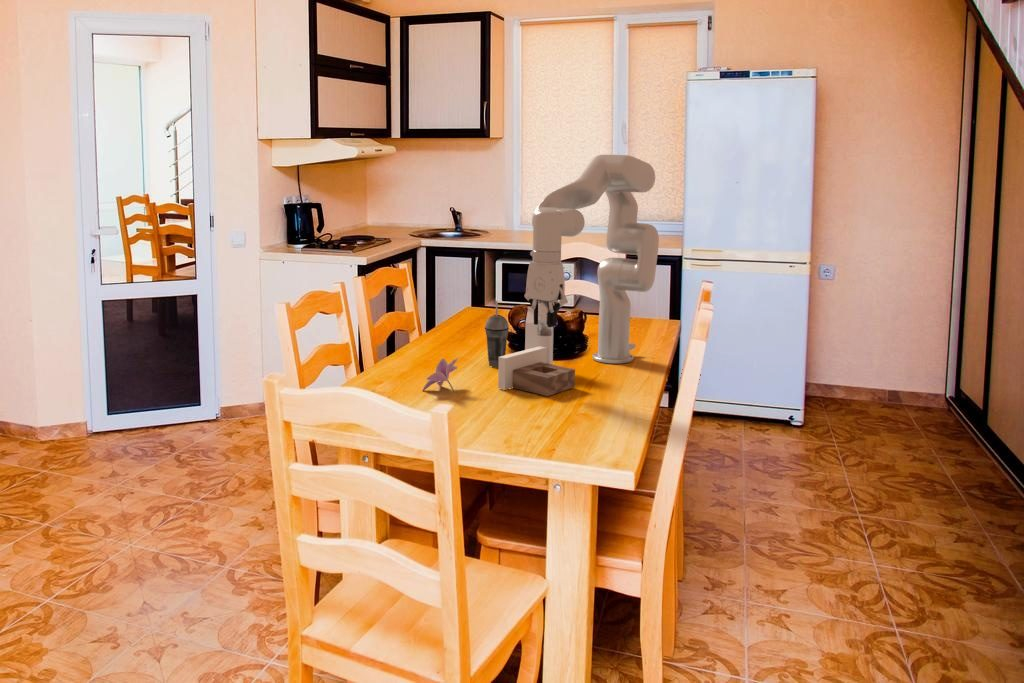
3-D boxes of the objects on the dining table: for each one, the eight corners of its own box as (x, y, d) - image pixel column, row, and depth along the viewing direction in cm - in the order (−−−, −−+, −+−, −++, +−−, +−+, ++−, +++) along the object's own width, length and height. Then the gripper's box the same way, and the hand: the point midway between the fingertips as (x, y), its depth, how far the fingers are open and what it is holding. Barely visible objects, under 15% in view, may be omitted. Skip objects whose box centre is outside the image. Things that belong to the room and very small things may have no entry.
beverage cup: (509, 363, 271) (510, 298, 267) (507, 369, 264) (508, 302, 260) (486, 362, 272) (486, 297, 267) (482, 368, 265) (483, 301, 260)
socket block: (540, 379, 252) (540, 362, 251) (574, 387, 245) (575, 369, 244) (512, 387, 243) (513, 369, 242) (547, 396, 236) (548, 377, 235)
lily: (464, 388, 247) (449, 357, 247) (477, 382, 236) (461, 349, 237) (426, 406, 243) (411, 374, 243) (438, 401, 232) (422, 367, 232)
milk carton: (548, 374, 259) (550, 310, 254) (524, 373, 260) (525, 308, 256) (552, 368, 265) (554, 305, 261) (528, 367, 267) (530, 304, 263)
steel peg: (543, 332, 243) (544, 296, 241) (555, 334, 241) (556, 298, 239) (534, 334, 240) (535, 298, 238) (546, 336, 238) (546, 299, 236)
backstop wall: (539, 376, 256) (540, 346, 254) (546, 378, 255) (546, 347, 253) (498, 389, 243) (498, 356, 241) (504, 390, 241) (505, 358, 239)
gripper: (513, 255, 239) (512, 322, 243) (563, 261, 228) (561, 331, 232) (531, 253, 244) (529, 319, 248) (580, 259, 234) (578, 327, 238)
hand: (545, 324), depth 240 cm, fingers closed on steel peg, 4 cm apart
